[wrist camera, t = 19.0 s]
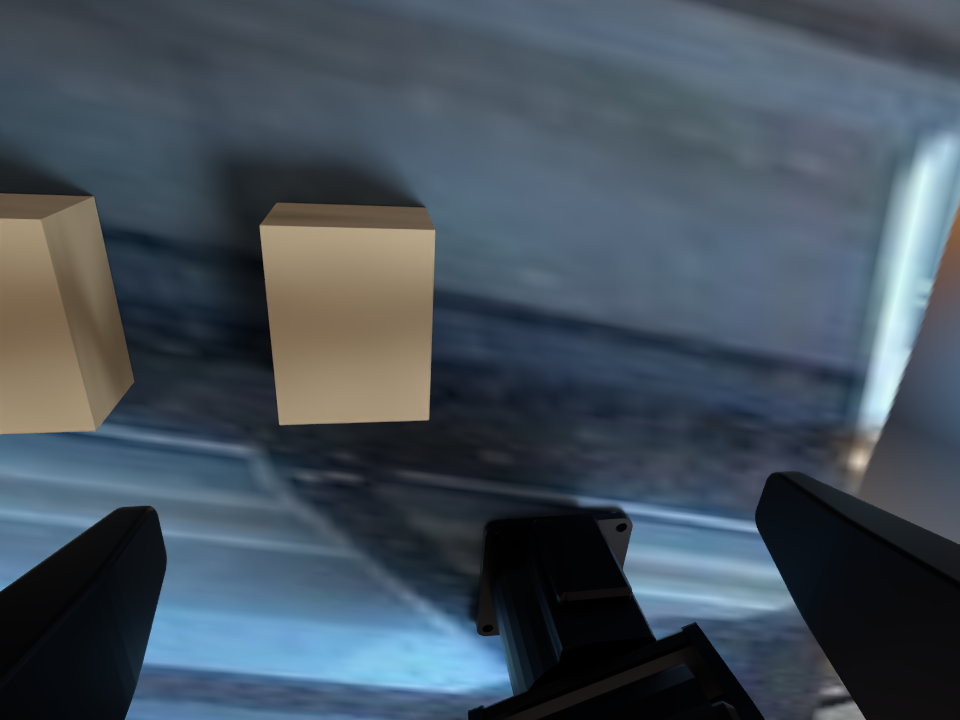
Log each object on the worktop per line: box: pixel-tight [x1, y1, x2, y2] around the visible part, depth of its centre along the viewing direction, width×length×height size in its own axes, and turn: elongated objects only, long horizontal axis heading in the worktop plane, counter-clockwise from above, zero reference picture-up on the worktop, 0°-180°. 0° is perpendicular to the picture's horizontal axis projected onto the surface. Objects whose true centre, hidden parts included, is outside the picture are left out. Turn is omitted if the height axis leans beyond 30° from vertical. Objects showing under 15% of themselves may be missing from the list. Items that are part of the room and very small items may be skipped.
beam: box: [0, 193, 435, 434], centre depth 17 cm, size 6×14×3 cm, turn 86°
